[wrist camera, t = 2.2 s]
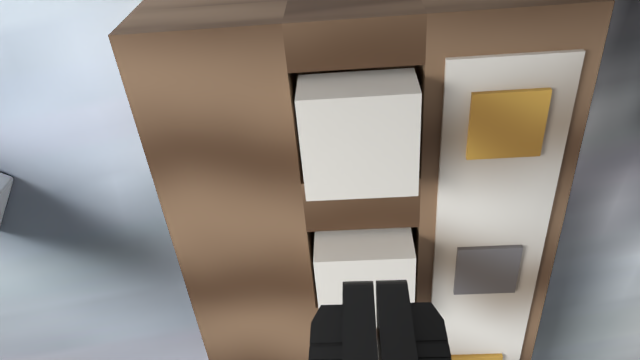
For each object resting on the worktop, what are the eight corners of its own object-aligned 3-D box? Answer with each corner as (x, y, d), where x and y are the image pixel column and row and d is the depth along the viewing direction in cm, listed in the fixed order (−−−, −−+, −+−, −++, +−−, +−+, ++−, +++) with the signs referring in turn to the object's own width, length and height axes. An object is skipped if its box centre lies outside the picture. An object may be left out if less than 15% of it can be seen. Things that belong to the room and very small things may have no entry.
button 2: (298, 75, 19) (294, 100, 17) (414, 67, 18) (421, 93, 17) (308, 170, 21) (306, 201, 19) (411, 165, 21) (418, 196, 19)
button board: (144, -1, 21) (103, 39, 17) (568, -32, 20) (620, 4, 16) (237, 357, 33) (225, 424, 30) (500, 350, 32) (520, 418, 29)
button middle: (315, 229, 23) (313, 262, 21) (410, 225, 22) (416, 258, 21) (321, 295, 25) (320, 329, 23) (408, 292, 25) (413, 326, 23)
